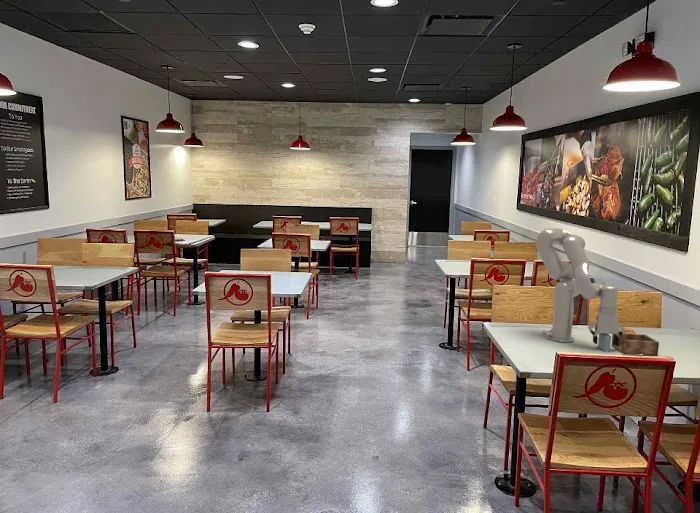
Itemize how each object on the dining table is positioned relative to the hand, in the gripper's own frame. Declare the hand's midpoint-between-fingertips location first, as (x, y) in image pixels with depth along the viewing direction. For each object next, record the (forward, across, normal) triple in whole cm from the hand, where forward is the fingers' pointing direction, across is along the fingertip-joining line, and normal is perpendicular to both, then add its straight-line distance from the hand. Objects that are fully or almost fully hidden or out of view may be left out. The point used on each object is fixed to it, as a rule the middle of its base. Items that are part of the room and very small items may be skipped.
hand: (605, 343), depth 259 cm
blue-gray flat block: (+3, 0, 0) cm, 3 cm away
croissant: (+3, +19, +22) cm, 30 cm away
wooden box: (+3, +14, 0) cm, 14 cm away
